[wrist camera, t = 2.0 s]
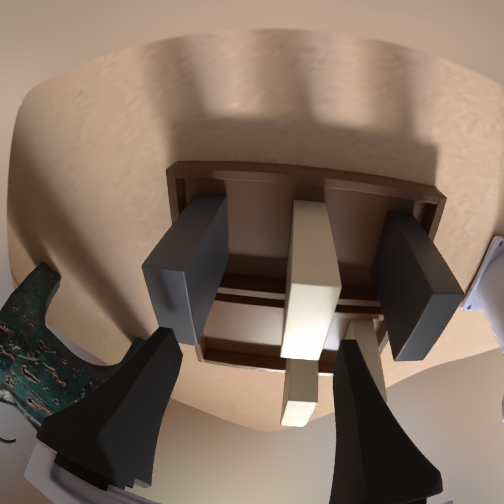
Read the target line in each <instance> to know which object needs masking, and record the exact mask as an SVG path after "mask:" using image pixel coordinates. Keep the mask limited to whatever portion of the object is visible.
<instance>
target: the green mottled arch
mask: <svg viewBox="0 0 504 504" xmlns="http://www.w3.org/2000/svg"><path fill="white" fill-rule="evenodd" d="M60 279H61V277H60V276H59V275H58V274H57V273H55V272H53V271H52V270H51V269H50V268H49V267H48V266H47V265H46V264H45V263H44V262H41V263H40V264H39V265H38V266H37V267H36V268H35V269H34V270H33V271H32V272H31V273H30V274H29V275H28V276H27V277H26V278H25V280H24V281H23V282H22V283H21V284H20V285H19V287H18V288H17V289H16V290H15V291H14V292H13V293H12V294H11V295H10V297H9V298H8V300H7V301H6V303H5V304H4V306H3V307H2V309H1V311H0V402H3V403H6V404H9V405H11V406H13V407H15V408H16V409H18V410H19V411H20V412H21V413H22V414H23V415H24V416H25V418H26V419H27V420H28V421H29V422H30V423H31V424H32V426H33V427H34V428H35V429H36V431H37V432H38V430H39V428H40V426H41V424H42V422H43V420H44V418H45V417H47V416H50V415H52V414H54V413H56V412H59V411H61V410H63V409H65V408H67V407H69V406H70V405H72V404H74V403H76V402H77V401H79V400H81V399H82V398H84V397H85V396H87V395H88V394H90V393H91V392H92V391H94V390H95V389H97V388H98V387H99V386H100V385H102V384H103V383H104V382H105V381H107V380H108V379H109V378H110V377H111V376H112V375H113V374H115V373H116V372H117V371H118V370H119V369H120V368H121V367H122V366H123V365H124V364H125V363H126V362H127V361H128V360H129V359H130V358H131V357H132V356H133V355H134V354H135V353H136V352H137V351H138V350H139V349H140V347H141V346H142V345H143V344H144V343H145V342H146V341H145V340H143V339H141V338H139V337H138V338H136V340H135V341H134V342H133V343H132V345H131V347H130V348H129V350H128V352H127V353H126V355H125V356H124V358H123V360H122V361H121V362H120V363H118V364H115V365H111V366H99V365H93V364H91V363H88V362H86V361H84V360H82V359H80V358H79V357H77V356H76V355H74V354H73V353H72V352H71V351H70V350H69V349H68V348H67V347H66V346H65V345H64V344H63V343H62V342H61V341H60V340H59V339H58V338H57V337H56V336H55V335H54V334H53V333H52V332H51V331H50V330H49V329H48V328H47V327H46V325H45V315H46V312H47V309H48V306H49V304H50V302H51V300H52V298H53V296H54V294H55V293H56V291H57V290H58V288H59V285H60ZM3 397H9V398H11V400H12V401H13V402H9V401H7V400H5V399H3ZM0 441H1V442H4V443H9V444H12V443H15V442H16V439H14V440H4V439H2V438H0Z"/></svg>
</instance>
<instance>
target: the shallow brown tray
mask: <svg viewBox="0 0 504 504" xmlns="http://www.w3.org/2000/svg"><path fill="white" fill-rule="evenodd" d="M284 304H285V300H281V299H271V298H261V297H252V296H243V295H234V294H225V293H216V296H215V299H214V302H213V305H212V307H211V310H210V313H209V316H208V319H207V322H206V325H205V327H204V330H203V333H202V336H201V339H200V342H199V345H198V346H195V349H196V353H197V357H198V361H199V362H205V363H211V364H217V365H223V366H230V367H236V368H244V369H251V370H260V371H269V372H279V373H285V370H286V358H283V357H280V349H281V339H282V328H283V316H284ZM351 319H372V320H373V323H374V327H375V332H376V337H377V342H378V347H379V352H380V354H381V352H382V351H383V349H384V347H385V345H386V344H387V342H388V340H389V337H388V333H387V329H386V325H385V321H384V317H383V313H382V309H381V307H373V306H356V305H341V304H337V305H336V309H335V312H334V315H333V318H332V322H331V325H330V328H329V331H328V334H327V337H326V340H325V343H324V346H323V349H322V352H321V355H320V357H319V360H318V375H321V376H333V366H334V362H335V359H336V355H337V352H338V348H339V345H340V341H341V339H344V337H345V335H346V332H347V330H348V327H349V324H350V322H351Z"/></svg>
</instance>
